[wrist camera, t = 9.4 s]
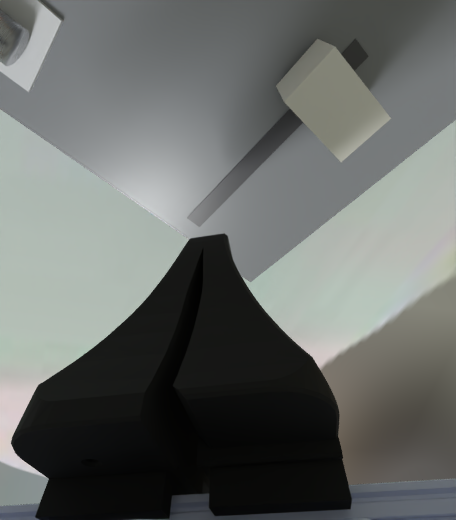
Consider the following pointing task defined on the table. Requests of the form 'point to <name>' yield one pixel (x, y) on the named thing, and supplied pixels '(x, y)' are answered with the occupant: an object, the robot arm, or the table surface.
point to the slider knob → (332, 100)
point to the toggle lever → (11, 39)
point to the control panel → (227, 104)
